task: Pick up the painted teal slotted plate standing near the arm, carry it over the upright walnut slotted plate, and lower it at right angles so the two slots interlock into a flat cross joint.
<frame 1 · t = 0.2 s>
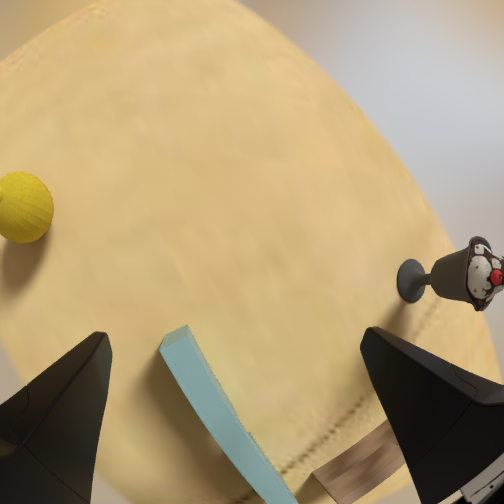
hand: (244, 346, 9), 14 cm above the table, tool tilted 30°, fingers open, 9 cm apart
teal slotted plate: (231, 423, 22), on the table
lemon: (43, 220, 20), on the table
sundae: (410, 281, 28), on the table
walnut slotted plate: (385, 427, 25), on the table
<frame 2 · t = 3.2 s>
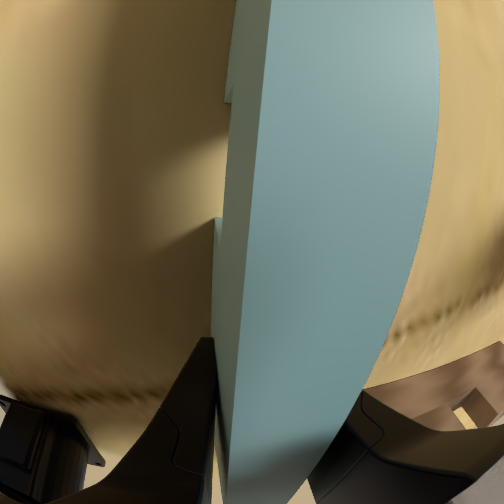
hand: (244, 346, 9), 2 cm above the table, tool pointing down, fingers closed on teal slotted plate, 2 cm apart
teal slotted plate: (252, 162, 8), on the table, touching gripper
walnut slotted plate: (432, 377, 15), on the table
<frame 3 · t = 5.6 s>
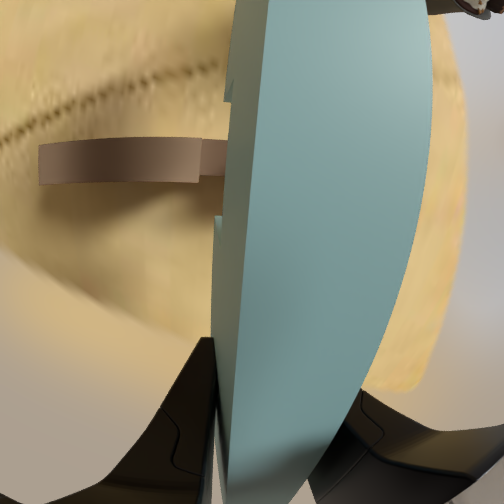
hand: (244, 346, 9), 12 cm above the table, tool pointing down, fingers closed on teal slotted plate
teal slotted plate: (251, 160, 8), point 10 cm above the table, touching gripper
sundae: (371, 12, 14), on the table
walnut slotted plate: (228, 156, 17), on the table
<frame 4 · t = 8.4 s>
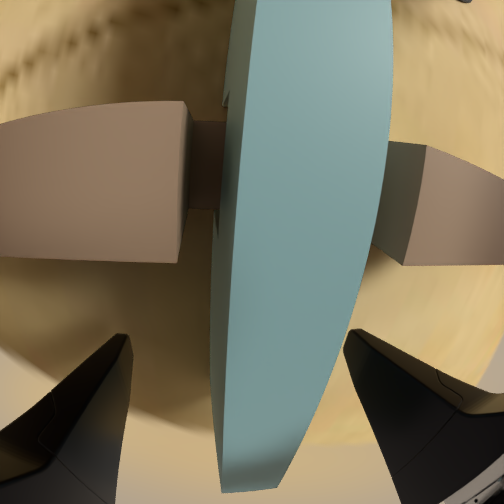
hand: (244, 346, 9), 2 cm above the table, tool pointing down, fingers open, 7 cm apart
teal slotted plate: (247, 159, 9), on the table, touching walnut slotted plate
walnut slotted plate: (248, 160, 9), on the table
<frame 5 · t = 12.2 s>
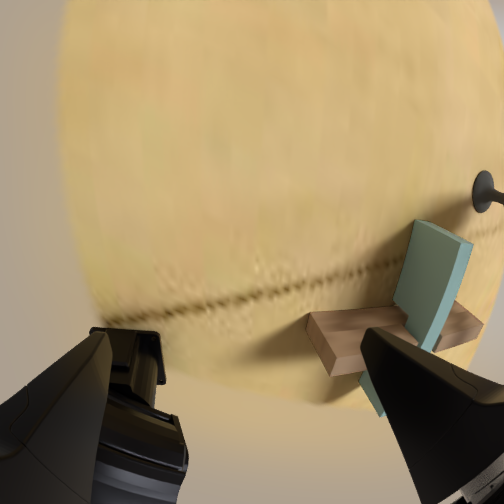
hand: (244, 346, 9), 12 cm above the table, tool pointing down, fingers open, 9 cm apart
teal slotted plate: (394, 313, 26), on the table, touching walnut slotted plate
sundae: (482, 191, 23), on the table
walnut slotted plate: (394, 313, 26), on the table
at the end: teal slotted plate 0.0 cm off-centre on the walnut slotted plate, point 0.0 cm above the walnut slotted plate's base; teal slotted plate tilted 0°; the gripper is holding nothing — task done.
